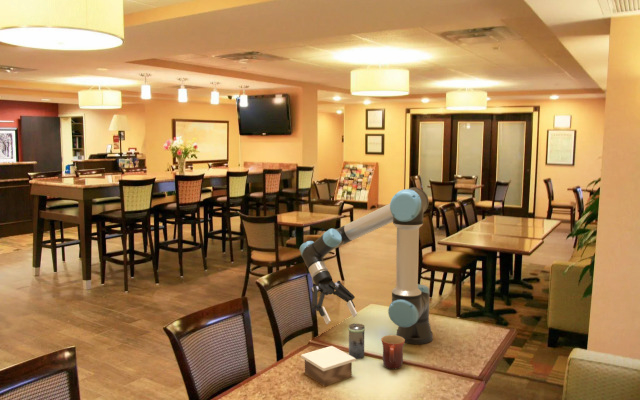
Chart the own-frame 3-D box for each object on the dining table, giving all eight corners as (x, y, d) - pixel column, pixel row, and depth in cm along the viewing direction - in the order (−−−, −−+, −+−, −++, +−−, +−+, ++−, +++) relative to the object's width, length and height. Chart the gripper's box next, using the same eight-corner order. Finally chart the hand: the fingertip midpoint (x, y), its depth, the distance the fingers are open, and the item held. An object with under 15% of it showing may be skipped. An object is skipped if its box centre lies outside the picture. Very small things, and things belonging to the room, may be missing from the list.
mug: (381, 360, 197) (382, 334, 196) (405, 362, 195) (405, 335, 194) (379, 373, 185) (379, 346, 184) (403, 376, 184) (404, 348, 182)
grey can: (357, 351, 205) (357, 322, 204) (367, 356, 200) (368, 326, 199) (345, 355, 202) (345, 325, 200) (355, 360, 197) (355, 330, 195)
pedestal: (331, 363, 194) (331, 345, 193) (355, 377, 183) (355, 358, 182) (300, 373, 186) (300, 354, 185) (323, 388, 175) (323, 368, 174)
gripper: (340, 275, 226) (361, 317, 216) (292, 284, 212) (312, 330, 201) (347, 265, 221) (370, 308, 211) (299, 274, 207) (320, 320, 196)
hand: (342, 319), depth 206 cm, fingers open, 13 cm apart
